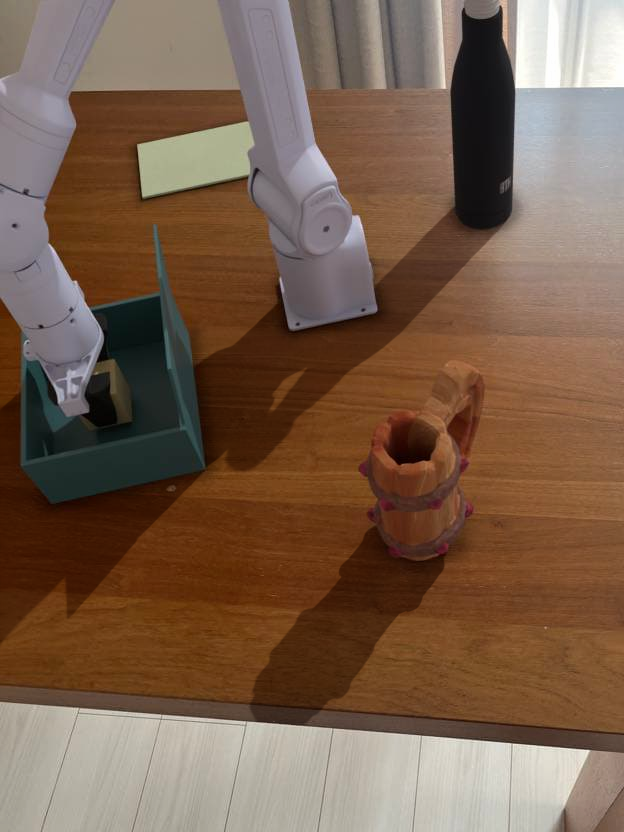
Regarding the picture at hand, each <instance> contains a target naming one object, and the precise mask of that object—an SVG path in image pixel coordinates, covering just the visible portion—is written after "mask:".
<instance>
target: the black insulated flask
mask: <svg viewBox="0 0 624 832" xmlns="http://www.w3.org/2000/svg"><path fill="white" fill-rule="evenodd" d="M503 27H504V9H503V7H502V5H501V0H464V1H463V7H462V9H461V42H460V45H459V47H458V48H459V49H458V51H457V55H456V59H455V62H454V64H453V69H452V76H451V82H450V83H451V84H450V90H449V93H450V113H451V114H450V118H451V142H452V144H451V145H452V166H453V189H454V212H455V216H456V218H457V220H458V221H459V222H460V223H461V224H463V225H464V226H466V227H468V228H471V229H476V230H489V229H494V228H497V227H499V226H501V225H502V224H504V223H506V221H508V219H509V218H510V217H511V214H512V212H513V196H514V165H515V164H514V163H515V162H514V158H515V157H514V156H515V127H516V126H515V125H516V124H515V123H516V122H515V121H516V86H515V85H516V84H515V77H514V72H513V66H512V62H511V57H510V55H509V52H508V49H507V46H506V44H505V40H504V38H503V36H504V35H503V34H504V33H503V32H504V29H503Z"/></svg>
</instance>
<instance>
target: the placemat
mask: <svg viewBox="0 0 624 832" xmlns="http://www.w3.org/2000/svg"><path fill="white" fill-rule="evenodd" d="M253 145H254V140H253V136H252V132H251V128H250V125H249V121H242V122H238V123H234V124H233V123H232V124H228V125H223V126H219V127H215V128H210V129H209V128H208V129H204V130H200V131H195V132H191V133H186V134H181V135H176V136H171V137H166V138H162V139H156V140H153V141H148V142H143V143H137V155H138V156H137V157H138V167H139V168H138V169H139V179H140V187H141V189H140V190H141V196H142V197H141V198H142V200H145V199H150V198H155V197H159V196H163V195H168V194H173V193H178V192H184V191H187V190H193V189H197V188H201V187H206V186H212V185H215V184H221V183H224V182H225V183H226V182H231V181H233V180H239V179H243V178H247V177H248V178H249V174H250V162H249V158H248V155H247V152H248V150H249V149H250V148H251V147H252V146H253Z"/></svg>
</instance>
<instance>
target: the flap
mask: <svg viewBox="0 0 624 832" xmlns="http://www.w3.org/2000/svg"><path fill="white" fill-rule="evenodd" d="M152 232H153V240H154V241H153V242H154V251H155V252H154V253H155V261H156V269H157V270H156V271H157V281H158V288H159V289H158V290H159V292H160V301H161V310H162V320H163V330H164V340H165V349H166V359H167V369H168V373H169V377H170V381H171V385H172V388H173V392H174V396H175V400H176V404H177V408H178V412H179V416H180V419H181V423H182V425H185V417H184V408H183V399H182V390H181V381H180V372H179V363H178V354H177V345H176V336H175V327H174V318H173V309H172V300H171V293H172V292H171V284H170V279H169V276H168V272H167V271H168V270H167V267H166V262H165V258H164V254H163V249H162V244H161V240H160V236H159V232H158V228H157V224H153V225H152Z"/></svg>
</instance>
